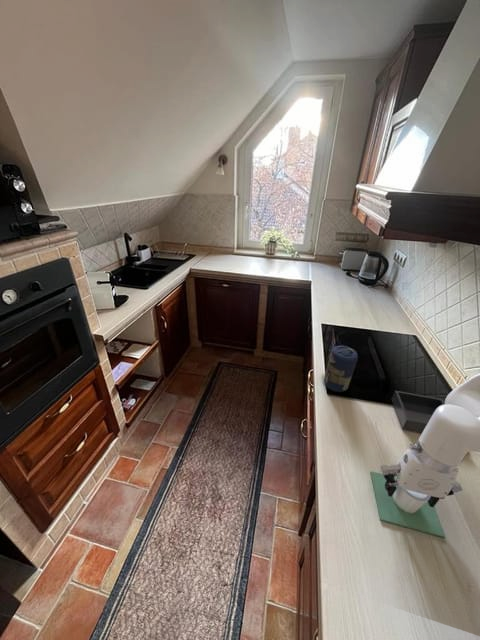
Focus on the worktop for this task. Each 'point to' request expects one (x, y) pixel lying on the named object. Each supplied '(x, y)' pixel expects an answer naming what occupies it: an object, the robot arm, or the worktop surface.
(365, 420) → the worktop surface
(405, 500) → the white short cylinder
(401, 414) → the basin
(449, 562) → the worktop surface
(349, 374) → the canister
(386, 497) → the drying mat
